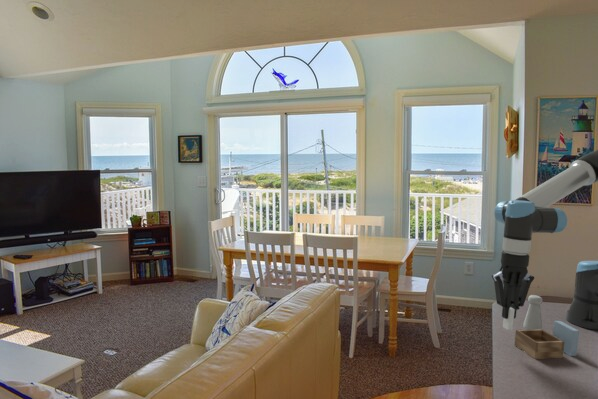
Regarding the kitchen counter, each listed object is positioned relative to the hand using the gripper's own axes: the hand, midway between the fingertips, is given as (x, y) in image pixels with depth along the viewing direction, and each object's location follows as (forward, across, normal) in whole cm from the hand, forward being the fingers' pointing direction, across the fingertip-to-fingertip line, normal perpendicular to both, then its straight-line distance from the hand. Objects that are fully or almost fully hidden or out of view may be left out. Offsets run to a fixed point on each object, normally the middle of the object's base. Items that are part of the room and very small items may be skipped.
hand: (507, 328), depth 138 cm
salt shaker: (+8, -20, -14) cm, 25 cm away
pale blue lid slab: (+7, -20, 0) cm, 22 cm away
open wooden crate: (+8, -11, 0) cm, 14 cm away
